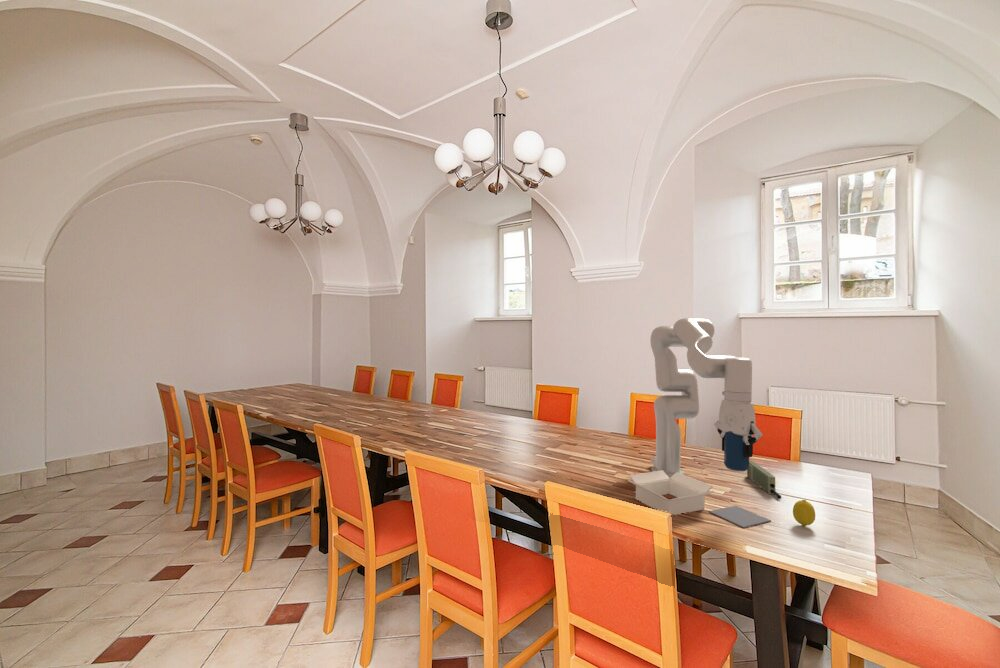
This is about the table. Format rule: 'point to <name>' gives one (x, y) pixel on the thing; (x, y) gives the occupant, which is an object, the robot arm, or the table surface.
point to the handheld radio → (762, 478)
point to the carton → (670, 491)
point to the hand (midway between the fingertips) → (736, 453)
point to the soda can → (735, 452)
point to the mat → (739, 516)
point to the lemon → (804, 513)
